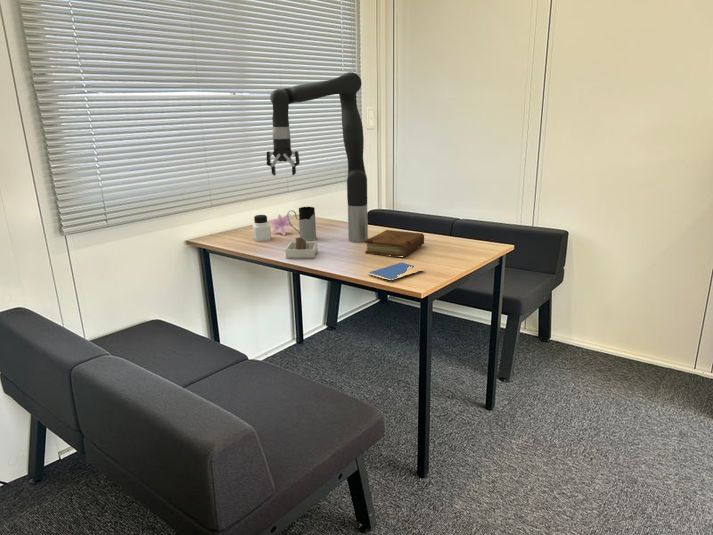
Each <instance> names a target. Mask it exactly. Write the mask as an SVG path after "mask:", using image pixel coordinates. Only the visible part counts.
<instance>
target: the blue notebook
mask: <svg viewBox="0 0 713 535" xmlns="http://www.w3.org/2000/svg"><path fill="white" fill-rule="evenodd" d="M409 266H410V267H411V266H412V268H413V267H414V266H415V265H412V264H410V263H407V262H398V263H395V264H391V265H389V266H388V265H387V266H386V267H382V268H378V269H375V270H372V271H369V272H368V273H370V274H374V275H378V276H381V277H384V278H387V279H390V280H392V279H395V278H397V277H398V276H397V275H400V274H403V273H405V272H406V271H407V268H408V267H409Z"/></svg>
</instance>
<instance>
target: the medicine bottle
mask: <svg viewBox="0 0 713 535" xmlns="http://www.w3.org/2000/svg"><path fill="white" fill-rule="evenodd" d="M253 218H254V219H253V222H254V223H253V224H252V236H253V240H254V241H255V242H257V241H258V242H267V241H271V240H272V237H271V225H270V224H268V216H267V215H266V214H256V215H255V216H253Z"/></svg>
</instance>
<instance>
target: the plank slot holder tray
mask: <svg viewBox="0 0 713 535" xmlns="http://www.w3.org/2000/svg"><path fill="white" fill-rule="evenodd" d="M318 250H319V248H318V241H306V247H305V249H296V241H294V242H293V241H290V242H289V244H288V245H287V246H286V248H285V250H284V251H285V259H286V258H291V260H292V259H295V260H298V259H299V260H300V259H305V260H306V259H307V260H309V259H311V260H312V259H315V257H316V256H317V253H318Z"/></svg>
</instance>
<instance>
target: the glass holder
mask: <svg viewBox="0 0 713 535" xmlns="http://www.w3.org/2000/svg"><path fill="white" fill-rule="evenodd" d="M291 212H293V213H294V215H295V218H296V220H298V225H299V226H298V228H299V230H298V229H297V228H296V227H295V226H294V225H293V224H292V222H291V221H290V219H289V217H288V214H290V213H291ZM286 215H287V217H288V222H289V223H290V225H291V226H292V225H293V226H292V228H293V229H294V230H295V231H296V232H298V234H299V238H303V239H304V240H305V241H306V242H314V241H316V240H318V237H317V229H316V228H317V226H316V225H317V224H316V222H317V221H316V211H315V207H314V206H302V207H299V208H298V217H297V213H296V211H295V210H289V211H287V214H286Z"/></svg>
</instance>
